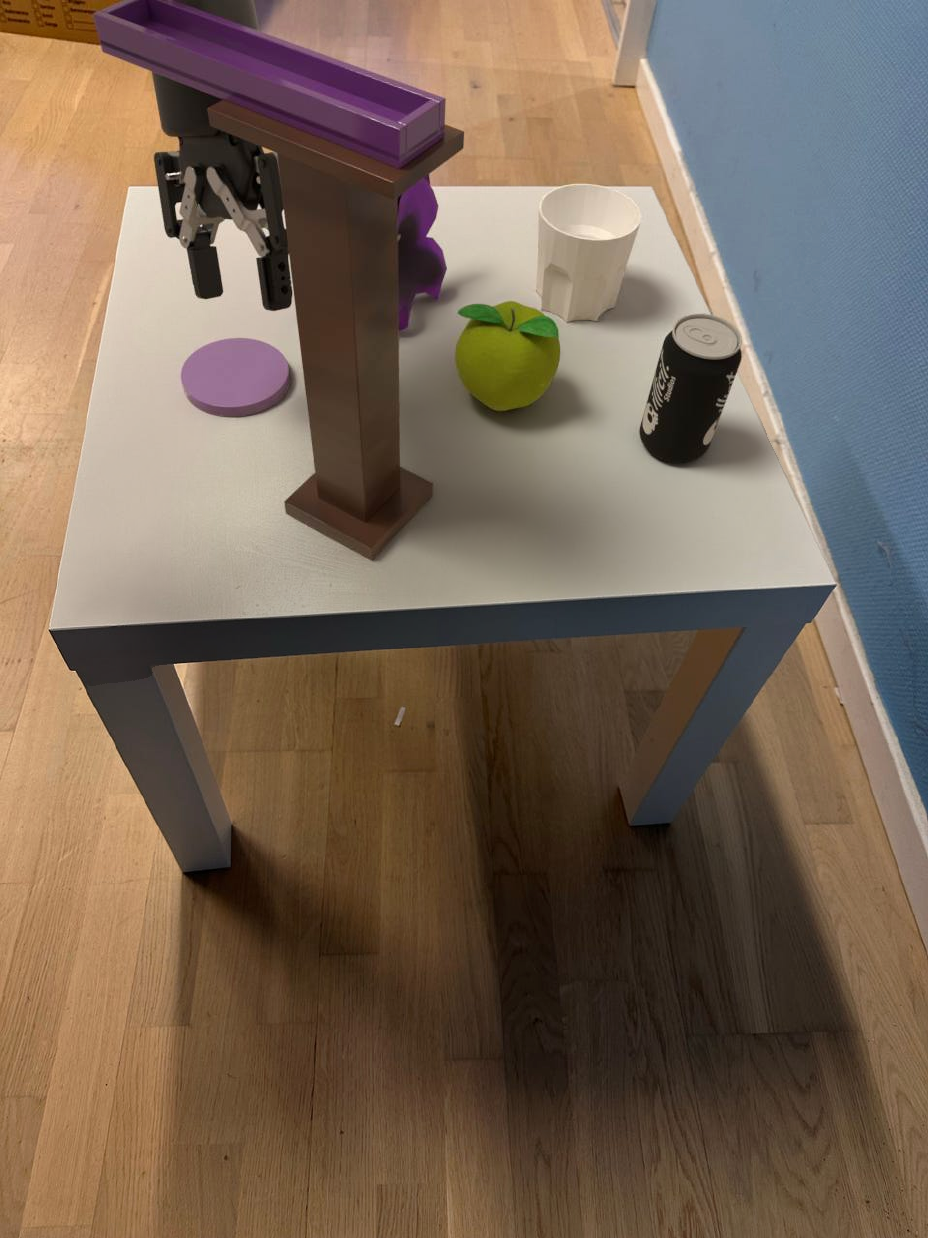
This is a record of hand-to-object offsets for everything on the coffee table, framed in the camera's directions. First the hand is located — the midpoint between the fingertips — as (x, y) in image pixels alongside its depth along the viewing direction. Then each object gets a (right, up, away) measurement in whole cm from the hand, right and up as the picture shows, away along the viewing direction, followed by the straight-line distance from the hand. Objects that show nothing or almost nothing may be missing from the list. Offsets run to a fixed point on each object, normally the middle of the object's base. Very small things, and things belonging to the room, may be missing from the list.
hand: (243, 303), depth 69 cm
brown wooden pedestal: (+8, -15, +8) cm, 18 cm away
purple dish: (+6, +6, -17) cm, 19 cm away
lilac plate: (-5, -2, +16) cm, 17 cm away
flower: (+7, +10, +25) cm, 28 cm away
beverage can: (+37, -8, +14) cm, 40 cm away
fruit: (+21, -3, +17) cm, 27 cm away
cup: (+29, +10, +27) cm, 40 cm away
